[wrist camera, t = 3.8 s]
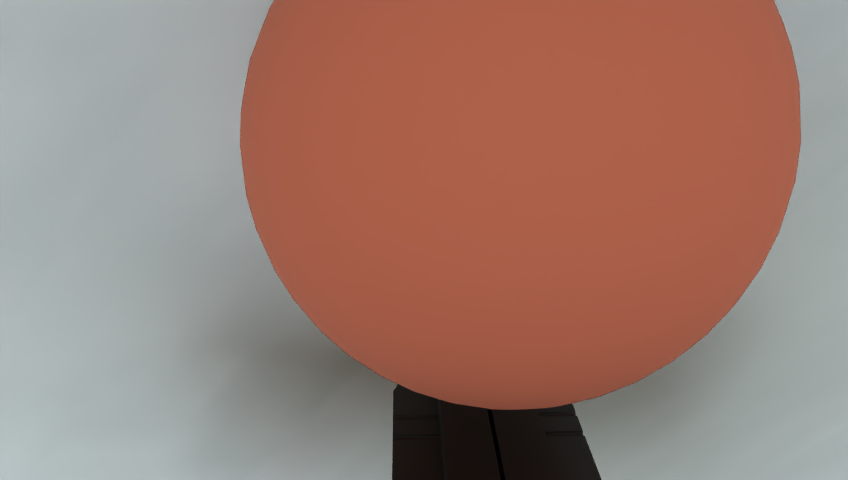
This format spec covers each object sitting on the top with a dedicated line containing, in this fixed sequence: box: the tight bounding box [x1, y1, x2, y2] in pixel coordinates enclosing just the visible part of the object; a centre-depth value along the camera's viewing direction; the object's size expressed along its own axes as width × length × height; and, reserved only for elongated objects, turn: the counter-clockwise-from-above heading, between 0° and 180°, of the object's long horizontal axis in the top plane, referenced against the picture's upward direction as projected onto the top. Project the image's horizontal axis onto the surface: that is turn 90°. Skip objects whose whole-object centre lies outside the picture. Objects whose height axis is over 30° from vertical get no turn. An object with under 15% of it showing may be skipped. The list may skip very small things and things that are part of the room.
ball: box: [240, 0, 801, 410], centre depth 7 cm, size 6×6×6 cm
